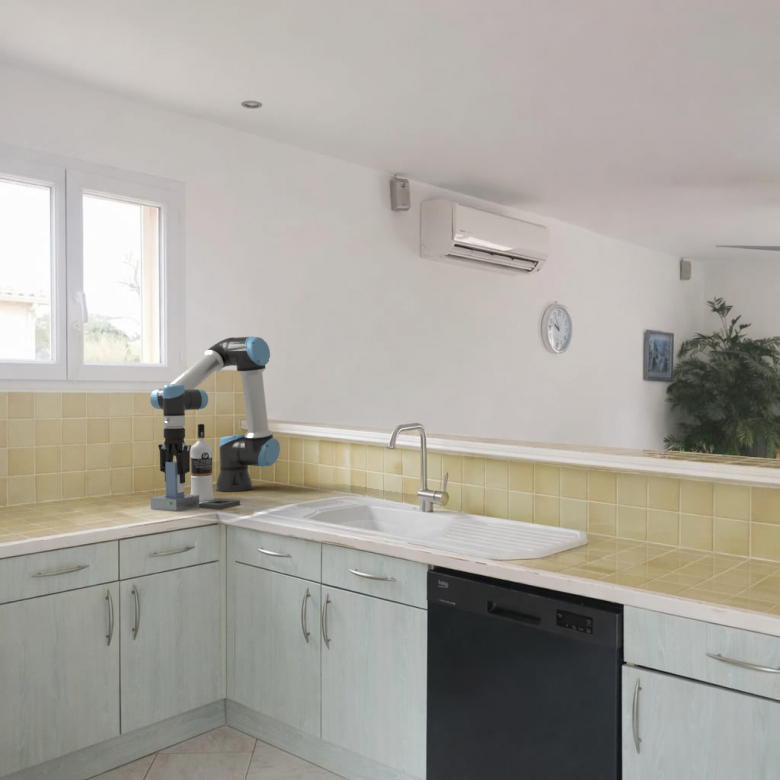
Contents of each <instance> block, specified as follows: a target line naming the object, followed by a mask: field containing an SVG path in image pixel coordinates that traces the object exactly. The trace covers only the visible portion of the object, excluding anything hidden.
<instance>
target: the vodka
mask: <svg viewBox="0 0 780 780" xmlns="http://www.w3.org/2000/svg"><path fill="white" fill-rule="evenodd" d="M205 429H206V428H205V424H204V423H199V424H197V441H196V442H195V443H194V444H193V445H191V449H190V483H191V484H190V494H192V495H199V502H209V501H213V500H215V494H214V493H215V492H214V489H213V487H214V486H213V477H214V475H213V451H214V450H213V449H214V448H213V446H212V445H211V444H209V442H207V441H206V439H205V433H206V431H205Z"/></svg>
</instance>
